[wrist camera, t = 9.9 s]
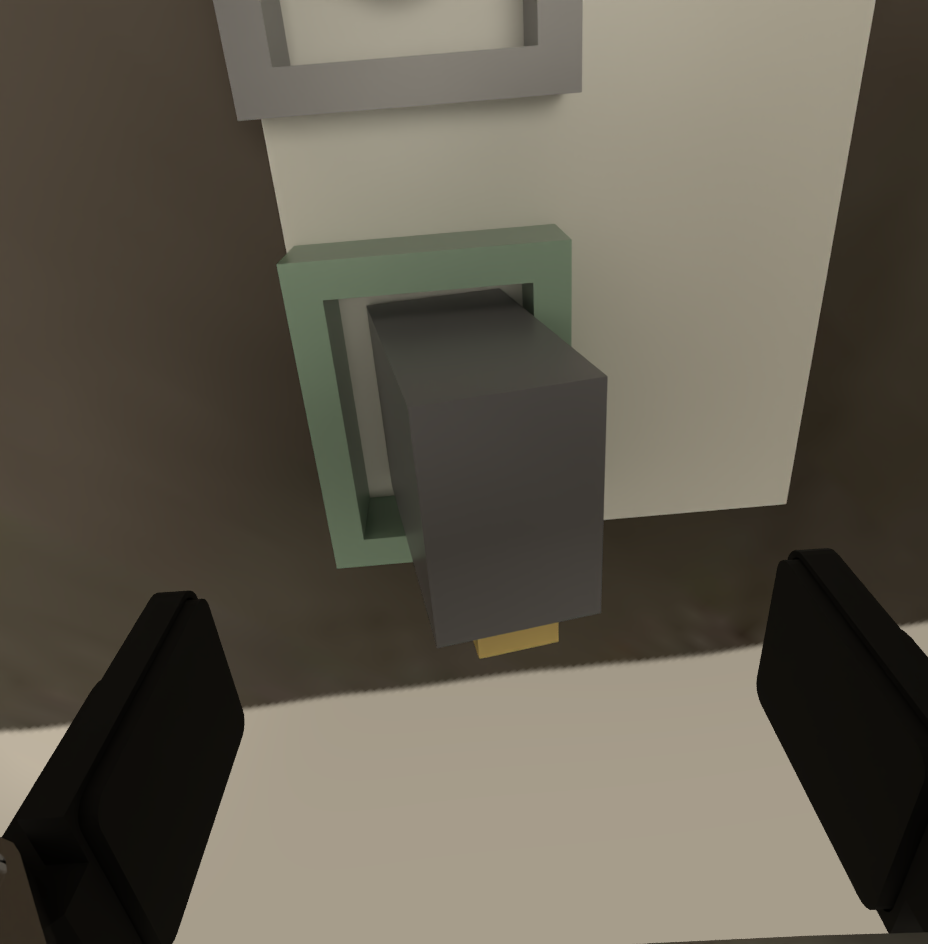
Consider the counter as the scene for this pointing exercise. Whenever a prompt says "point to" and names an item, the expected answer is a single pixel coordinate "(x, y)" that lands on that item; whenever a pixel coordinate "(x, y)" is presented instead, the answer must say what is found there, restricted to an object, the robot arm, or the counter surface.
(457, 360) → the plug
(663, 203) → the board
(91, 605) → the counter surface
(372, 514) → the green rectangular frame
